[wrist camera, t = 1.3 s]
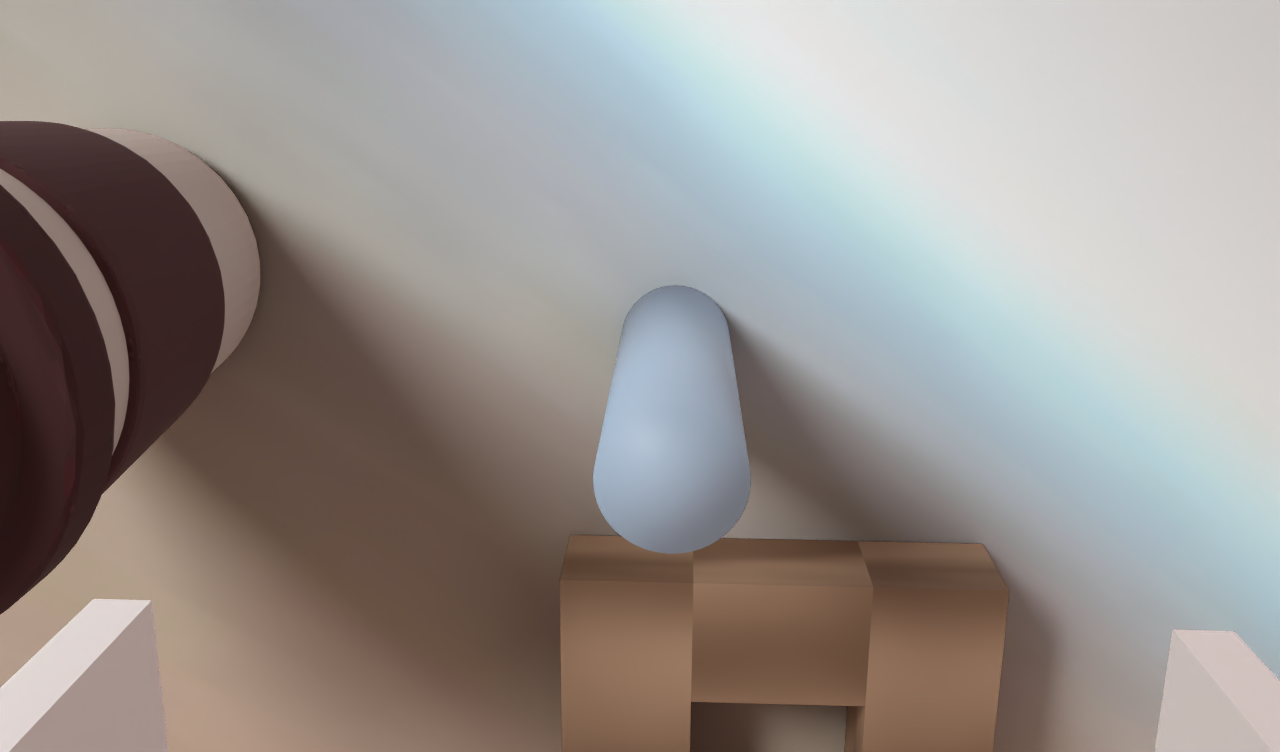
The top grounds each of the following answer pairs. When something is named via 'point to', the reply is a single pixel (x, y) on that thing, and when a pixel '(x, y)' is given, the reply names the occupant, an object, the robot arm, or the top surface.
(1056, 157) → the top surface
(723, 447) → the peg
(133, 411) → the coffee cup
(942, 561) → the hole block
